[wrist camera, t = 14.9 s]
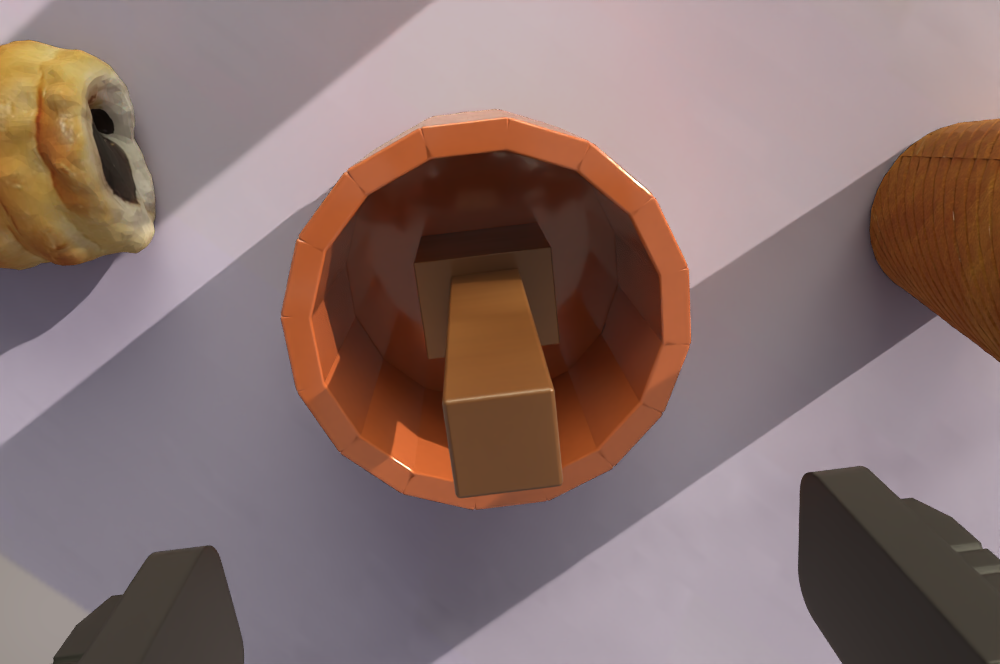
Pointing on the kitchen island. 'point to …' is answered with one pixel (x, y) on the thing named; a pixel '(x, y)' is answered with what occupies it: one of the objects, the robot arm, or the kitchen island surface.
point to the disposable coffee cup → (946, 227)
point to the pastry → (68, 160)
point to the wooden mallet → (493, 354)
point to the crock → (396, 310)
